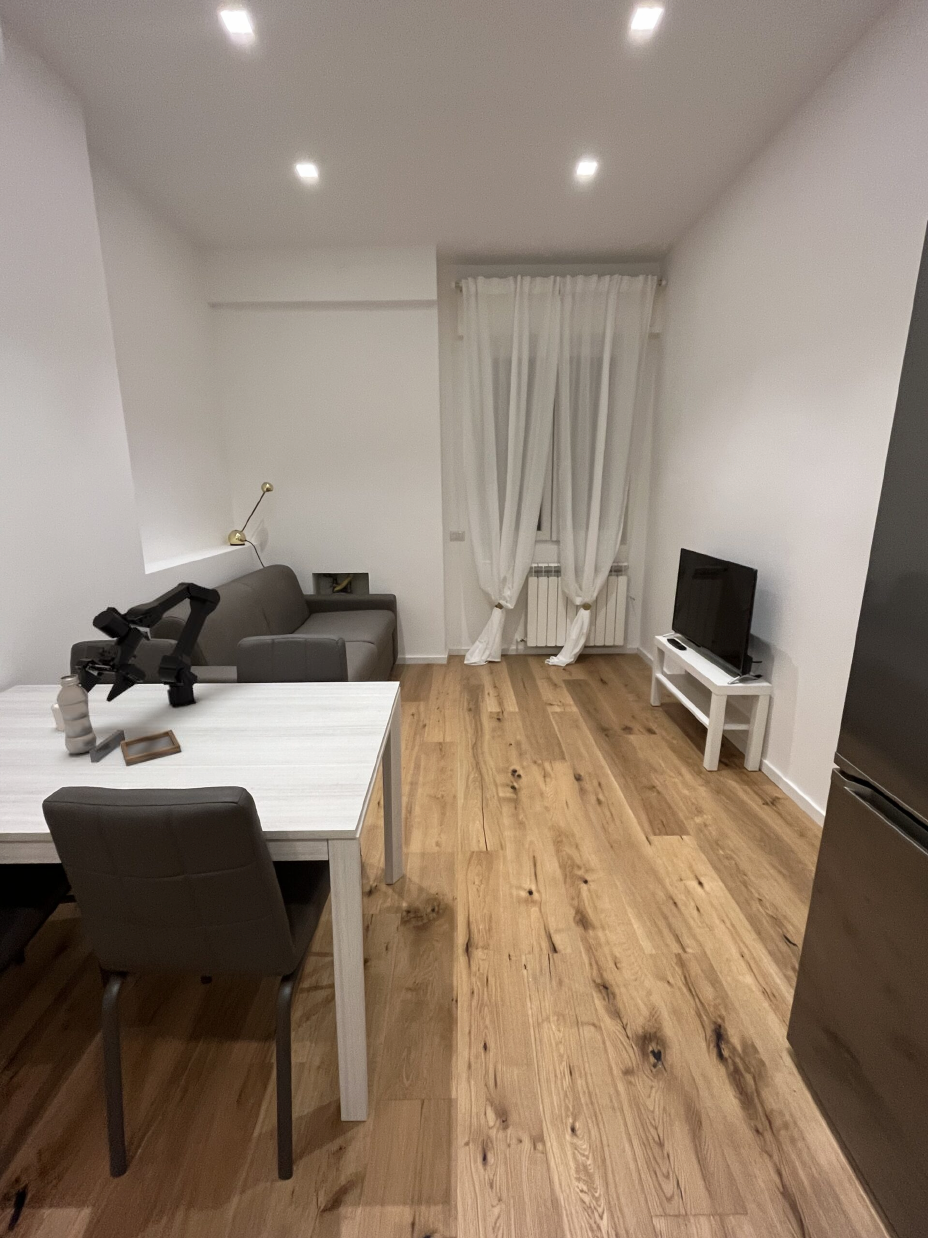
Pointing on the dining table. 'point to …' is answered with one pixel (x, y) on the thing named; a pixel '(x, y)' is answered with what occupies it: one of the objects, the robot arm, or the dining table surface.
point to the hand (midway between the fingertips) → (94, 699)
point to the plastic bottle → (75, 715)
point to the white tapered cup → (58, 717)
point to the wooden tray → (149, 747)
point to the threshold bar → (106, 746)
